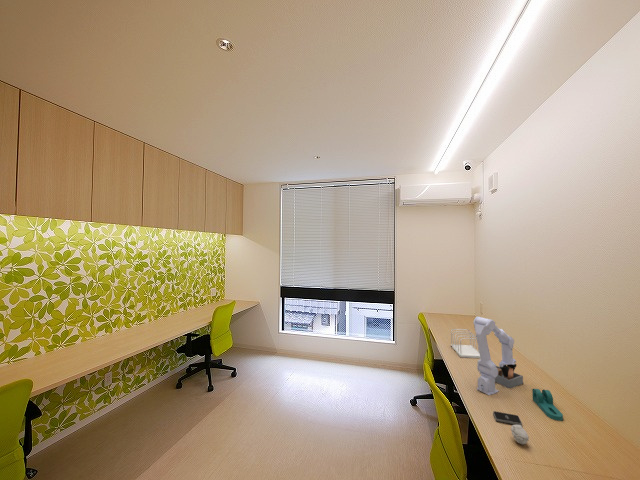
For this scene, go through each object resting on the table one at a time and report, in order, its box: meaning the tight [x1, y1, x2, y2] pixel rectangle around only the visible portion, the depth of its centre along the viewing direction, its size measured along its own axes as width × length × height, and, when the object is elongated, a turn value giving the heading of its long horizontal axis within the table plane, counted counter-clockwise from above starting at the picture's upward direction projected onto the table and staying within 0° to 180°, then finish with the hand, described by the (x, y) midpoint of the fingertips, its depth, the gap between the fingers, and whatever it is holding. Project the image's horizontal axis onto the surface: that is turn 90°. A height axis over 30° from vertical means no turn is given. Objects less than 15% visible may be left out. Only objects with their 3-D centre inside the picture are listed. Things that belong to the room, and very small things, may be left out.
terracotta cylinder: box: [504, 365, 513, 380], centre depth 170 cm, size 5×5×7 cm
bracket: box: [531, 388, 564, 422], centre depth 141 cm, size 18×7×8 cm, turn 163°
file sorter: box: [450, 328, 481, 359], centre depth 221 cm, size 25×17×16 cm
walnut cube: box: [497, 368, 503, 377], centre depth 177 cm, size 5×5×5 cm
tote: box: [495, 365, 524, 389], centre depth 173 cm, size 14×18×5 cm
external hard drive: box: [492, 410, 523, 427], centre depth 133 cm, size 7×11×2 cm, turn 67°
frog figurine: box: [510, 425, 529, 445], centre depth 118 cm, size 6×7×7 cm
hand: (508, 375), depth 170 cm, fingers closed on terracotta cylinder, 5 cm apart
